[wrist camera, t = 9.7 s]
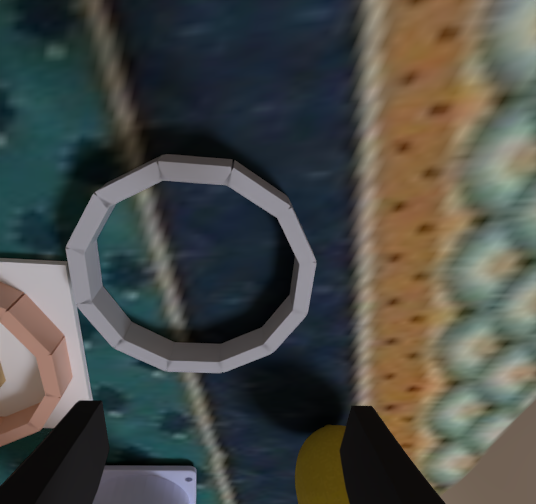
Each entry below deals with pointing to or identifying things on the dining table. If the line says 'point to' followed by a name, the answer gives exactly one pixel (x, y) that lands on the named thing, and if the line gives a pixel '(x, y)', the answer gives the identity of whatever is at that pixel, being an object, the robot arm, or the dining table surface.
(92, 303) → the ring
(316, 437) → the lemon
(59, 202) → the dining table surface
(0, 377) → the ochre block
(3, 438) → the ring
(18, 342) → the card
